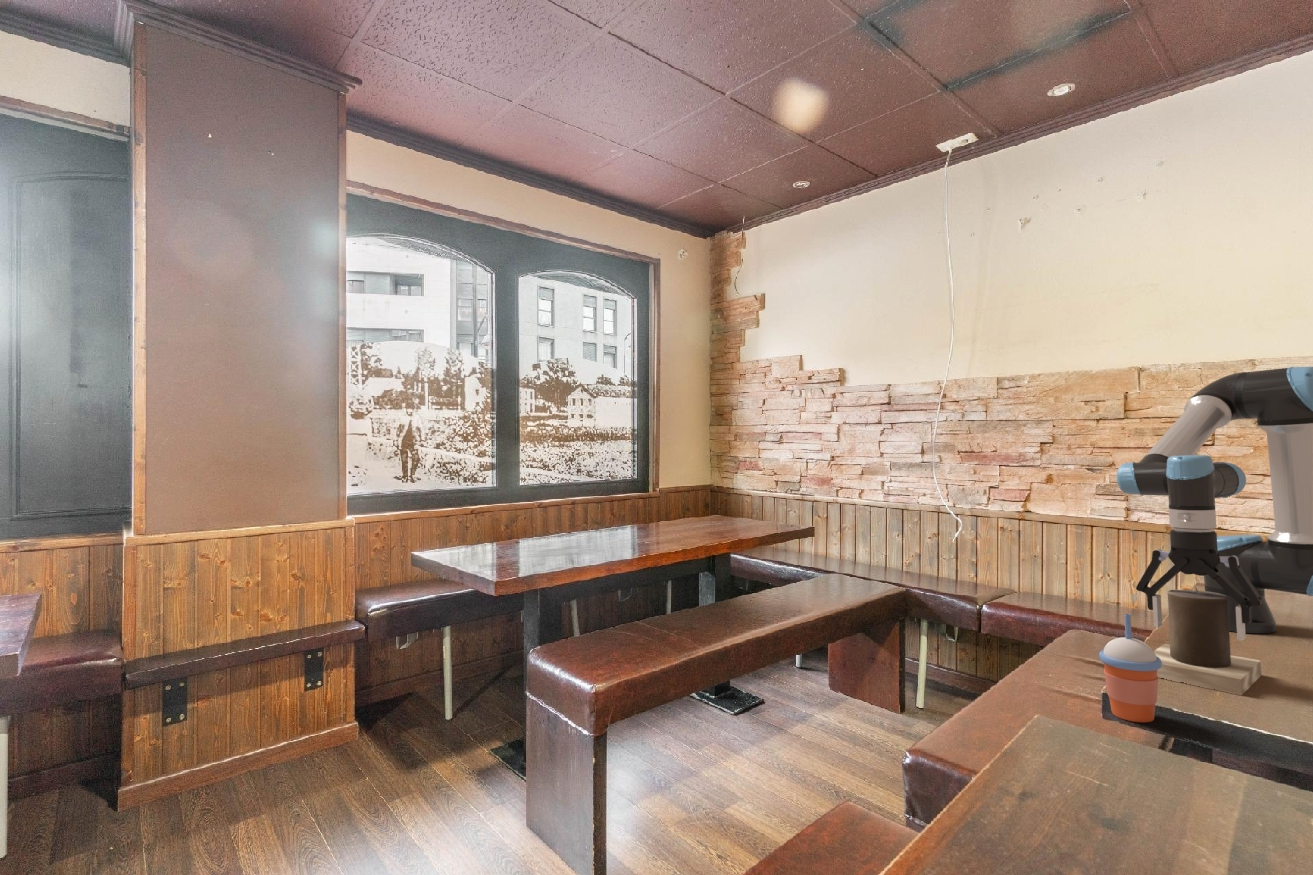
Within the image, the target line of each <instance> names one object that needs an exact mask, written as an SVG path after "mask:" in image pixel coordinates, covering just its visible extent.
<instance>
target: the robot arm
mask: <svg viewBox="0 0 1313 875" xmlns="http://www.w3.org/2000/svg"><path fill="white" fill-rule="evenodd" d="M1183 410H1184V412H1183V413H1182V414H1181V415H1180V416H1179V417H1178V418H1177V419H1176V421H1175V422H1174V423H1173V424H1172V425H1171V426H1170V427H1169V429H1168V430H1167V431H1166V432H1165V433H1164V434H1163V435H1162V436H1161V438H1159V440H1157V442H1156V443H1155V444H1154V445H1153V446H1152V448H1150V450H1148V451H1147V453H1146V454H1145V455H1144V456H1143V457H1142V458H1141V460H1139V461H1138V462H1135V461H1132V462H1124V463H1122V464H1121V465H1119V467H1118V469H1117V471H1116V483H1117V485H1118V488H1119V489H1120V491H1122V492H1123V493H1125V494H1129V495H1137V496H1138V495H1139V496H1162V497H1163V496H1164V497H1165V496H1167V497H1168V519H1169V526H1170V527H1171V528H1172V529H1171V530H1170V531H1169V539H1170V540H1169V541H1170V550H1169V551H1166V550H1165V551H1164V550H1162V549H1160V548H1158V549H1157V548H1156V549H1155V550H1153V551H1152V555H1151V561H1150V563H1149V564H1148V566H1147V568H1146V569H1145V571H1144V573H1143V574H1142V576H1141V578H1140V580H1139V582H1138V583H1137V585H1136V586H1135V590H1136V591H1138V592H1142V593H1144V594H1145V595H1146V600H1147V601H1146V603H1147V604H1146V606H1147V609H1148V610H1149V611H1152V616H1153V627H1154V628H1160V627H1161V626H1163V615H1162V613H1163V612H1162V595H1161V594H1157V592H1159V590H1161V589H1162V588H1163V587H1165V585H1166V584H1168V582H1170V581H1171V580H1172V579H1173V578H1174V577H1175V576H1176V575H1177V574H1179V573H1180V572H1181V573H1183V574H1184V575H1196V576H1199V577H1203V585H1204V591H1206V592H1214V593H1219V594H1223V595H1226V596H1227V598H1228V616H1229V632H1235V633H1236V638H1237V639H1236V640H1237V641H1241V642H1242V641H1244V640H1245V639H1246V638H1247V637H1246V635H1247V633H1248V634H1270V633H1274V632H1276V631H1277V621H1276V619H1275V617H1274V614H1273V612H1272V610H1271V608H1270V606H1269V604H1268V602H1267V600H1266V593H1265V590H1267V591H1278V592H1282V593H1283V592H1285V593H1291V594H1298V595H1306V596H1309V597H1313V366H1311V365H1309V366H1289V367H1281V368H1274V369H1264V370H1256V371H1255V370H1253V371H1243V372H1236V373H1232V374H1229V375H1228V374H1227V375H1225V376H1223V377H1220V378H1218V379H1216V380H1214V381H1212V382H1211V383H1208V384H1207V385H1206V386H1204V387H1203V388H1201V389H1200V390H1198V391H1197V392H1196V393H1194V394H1193V395H1192V396H1191V397H1190V398H1189V399H1188V400H1187V401H1186V403H1185V405H1184V408H1183ZM1244 419H1248V420H1250V419H1253V420H1254V419H1256V423H1257V427H1258V428H1259V429H1260V430H1263V431H1264V432H1265V433H1266V438H1267V439H1266V441H1267V451H1268V452H1267V453H1268V462H1269V464H1268V465H1269V474H1270V484H1271V485H1270V486H1271V495H1272V496H1271V497H1272V505H1273V506H1272V508H1273V516H1274V527H1275V528H1274V529H1275V530H1274V531H1273V532H1272V533H1271V534H1269V535H1268V536H1267V541H1264V539H1263V537H1262V536H1261V535H1260V534H1230V535H1229V534H1228V535H1219V536H1218V533H1217V532H1216V531H1214V529H1217V513H1216V499H1217V498H1218V499H1220V498H1223V499H1227V498H1228V497H1232V496H1235V495H1238V494H1239V493H1241V492H1242V491H1243V490H1244V488H1245V487H1246V485H1247V484H1246V483H1247V476H1246V474H1245V472H1244V470H1243V469H1242V468H1241V467H1239V466H1238V465H1236V464H1233V463H1231V462H1225V461H1214V460H1213V458H1212V456H1210V455H1206V454H1197V453H1198V451H1200V449H1201V448H1202V447H1203V445H1204V444H1206V442H1207V441H1208V440H1209V438H1210V437H1212V435H1213V434H1214V433H1215V431H1216V430H1218V429H1220V428H1223V427H1225V426H1226V425H1228V424H1229V423H1230V422H1231V421H1236V420H1244ZM1166 559H1169V560H1170V562H1172V564H1173V566H1171V567H1170V568H1169V569H1168V571H1167V572H1166V573H1164V574H1163V575H1162V576H1161V577H1160V578H1159V579H1158V580H1157V581H1156V582H1154V583H1153V584H1152V585H1151V586H1149V584H1150V582H1151V581H1152V579H1153V577H1154V576H1155V574H1156V572H1157V570H1158V569H1159V568H1160V566H1161V564H1162V562H1164V561H1166Z"/></svg>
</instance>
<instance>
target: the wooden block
mask: <svg viewBox="0 0 1313 875" xmlns="http://www.w3.org/2000/svg"><path fill="white" fill-rule="evenodd" d="M1153 651H1154V653H1155V655H1156V656H1157V657H1159V658H1160V660H1161V662H1162V667H1161V668H1160V669H1158V670H1157V676H1158V677H1159V678H1158V679H1161V678H1164V679H1163V680H1166V679H1167V680H1168V681H1171V680H1172V681H1173V682H1176V683H1180V682H1184V683H1183V684H1185V683H1187V685H1190V684H1191V686H1196V687H1199V686H1200V687H1201V688H1205V689H1210V690H1214V689H1215V690H1214V691H1219V692H1224V693H1227V694H1228V693H1229V694H1233V695H1238V696H1243V695H1244V694H1245V693H1246V691H1248V690H1249V689H1250V688H1251V686H1253V685H1254V683H1256V681H1258V680H1259V678H1261V676H1262V663H1261V660H1258V659H1253V658H1247V657H1242V656H1238V655H1237V656H1236V655H1231V665H1230V666H1228V667H1219V668H1213V667H1206V666H1198V665H1191V664H1187V663H1183V662H1180V661H1178V660H1176V659H1174V658H1172V657H1171V655H1170V644H1168V643H1163V644H1162V645H1160V646H1159V647H1157V648H1156V649H1155V650H1153ZM1167 680H1166V681H1167Z"/></svg>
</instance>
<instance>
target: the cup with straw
mask: <svg viewBox="0 0 1313 875" xmlns="http://www.w3.org/2000/svg"><path fill="white" fill-rule="evenodd" d="M1131 617H1132V615H1131V614H1130V613H1125V614H1124V627H1125V628H1124V629H1125V630H1124V631H1125V632H1124V633H1125V634H1124V635H1125V636H1124V637H1115V638H1114V639H1112V640H1110V641H1108V642H1107V644H1105V646H1104V648H1103V649H1102V650H1100V651H1099V654H1098V658H1099V660H1100V661H1101V662H1102V663H1103V664H1104V666H1103V667H1104V669H1103V673H1104V680H1105V685H1106V693H1107V695H1108V698H1109V699H1108V700H1109V703H1110V711H1111V713H1112V714H1113V715H1114V716H1115V717H1117V718H1119V719H1122V720H1125V721H1129V722H1134V723H1151V722H1153V721H1154V720H1155V712H1156V711H1155V710H1156V704H1157V702H1158V690H1159V689H1158V688H1159V687H1158V686H1159V678H1158V676H1157V670H1158V669H1160V668H1161V667H1162V662H1161V660H1160V658H1159V657H1157V656H1156V655H1155V653H1154V650H1153V648H1152V647H1150V645H1149V644H1147V643H1145V642H1144V641H1143V640H1140V639H1137V638H1133V634H1132V618H1131Z"/></svg>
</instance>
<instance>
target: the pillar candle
mask: <svg viewBox="0 0 1313 875" xmlns="http://www.w3.org/2000/svg"><path fill="white" fill-rule="evenodd" d="M1167 602H1168V603H1167V604H1168V630H1169V637H1168V638H1169V645H1170V655H1171V657H1172V658H1174V659H1176V660H1178V661H1180V662H1183V663H1187V664H1191V665H1198V666H1206V667H1213V668H1219V667H1228V666H1230V665H1231V656H1232V655H1231V640H1230V638H1231V636H1230V631H1229V616H1228V598H1227V596H1226V595H1223V594H1219V593H1214V592H1206V591H1205V590H1198V588H1197V587H1195V589H1170V590H1168V591H1167Z"/></svg>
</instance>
